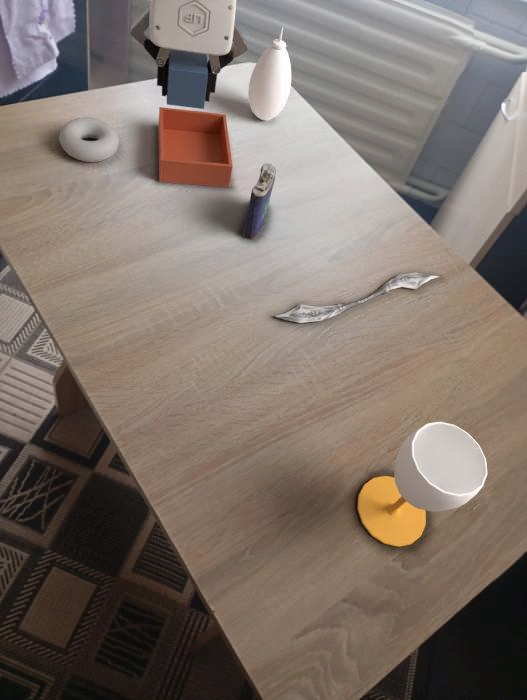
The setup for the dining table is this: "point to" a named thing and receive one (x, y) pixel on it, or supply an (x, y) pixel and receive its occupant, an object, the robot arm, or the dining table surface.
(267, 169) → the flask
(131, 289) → the dining table surface
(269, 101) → the sauce bottle
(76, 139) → the donut
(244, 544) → the dining table surface
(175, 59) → the block
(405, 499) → the cup
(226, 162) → the bin
